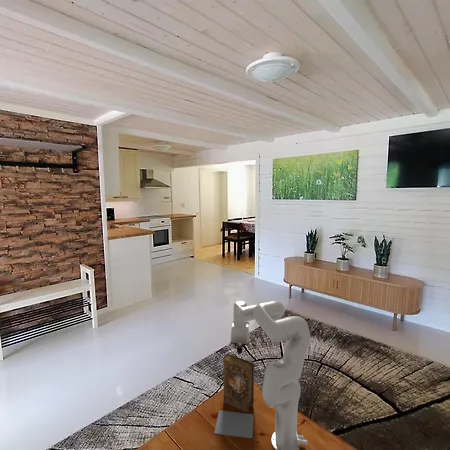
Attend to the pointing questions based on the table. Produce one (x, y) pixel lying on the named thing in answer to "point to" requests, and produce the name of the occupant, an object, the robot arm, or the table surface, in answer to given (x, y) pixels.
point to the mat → (234, 424)
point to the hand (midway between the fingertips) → (239, 353)
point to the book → (238, 382)
